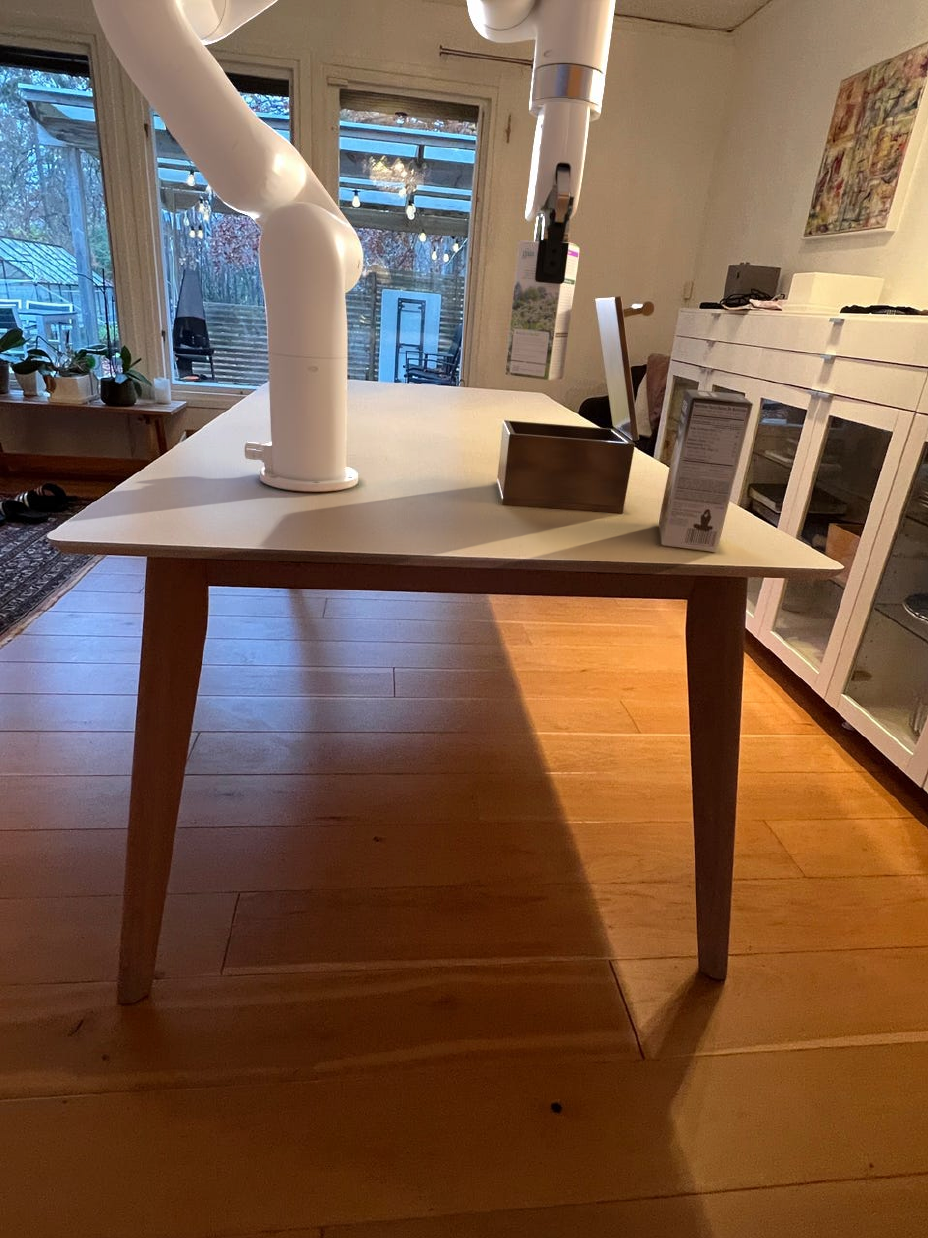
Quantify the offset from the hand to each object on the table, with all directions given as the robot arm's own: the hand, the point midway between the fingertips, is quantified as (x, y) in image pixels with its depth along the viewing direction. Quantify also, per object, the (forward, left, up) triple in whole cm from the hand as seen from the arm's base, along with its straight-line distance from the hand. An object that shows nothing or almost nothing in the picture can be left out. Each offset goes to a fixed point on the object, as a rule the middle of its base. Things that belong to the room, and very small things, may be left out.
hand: (545, 282), depth 80 cm
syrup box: (0, 0, -11) cm, 11 cm away
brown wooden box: (+4, +5, -26) cm, 26 cm away
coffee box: (+20, -7, -26) cm, 34 cm away
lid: (+9, +6, -9) cm, 14 cm away
